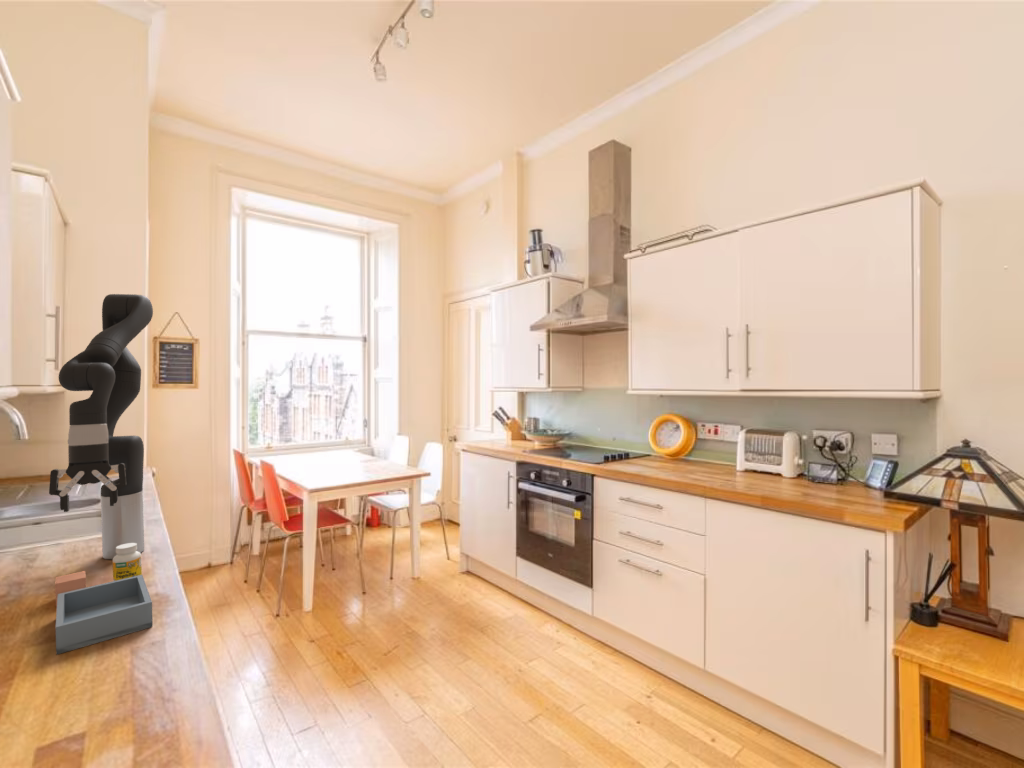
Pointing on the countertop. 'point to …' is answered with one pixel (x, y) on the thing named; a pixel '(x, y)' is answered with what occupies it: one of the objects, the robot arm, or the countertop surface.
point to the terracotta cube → (70, 583)
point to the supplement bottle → (126, 562)
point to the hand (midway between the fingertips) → (89, 508)
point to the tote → (102, 613)
